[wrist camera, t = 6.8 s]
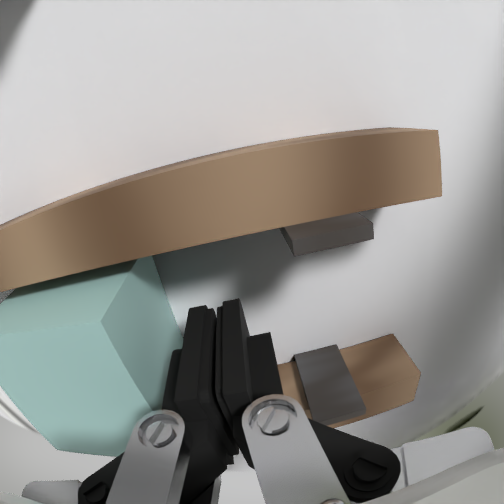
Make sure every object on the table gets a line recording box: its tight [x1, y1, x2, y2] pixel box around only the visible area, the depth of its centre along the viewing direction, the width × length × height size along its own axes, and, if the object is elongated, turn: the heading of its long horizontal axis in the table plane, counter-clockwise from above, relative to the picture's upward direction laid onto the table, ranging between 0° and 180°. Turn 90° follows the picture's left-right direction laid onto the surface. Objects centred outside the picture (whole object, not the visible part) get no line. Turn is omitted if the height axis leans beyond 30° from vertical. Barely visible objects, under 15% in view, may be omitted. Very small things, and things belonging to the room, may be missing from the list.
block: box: [0, 256, 183, 457], centre depth 9 cm, size 6×6×5 cm
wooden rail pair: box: [0, 128, 442, 428], centre depth 10 cm, size 18×12×4 cm, turn 101°
